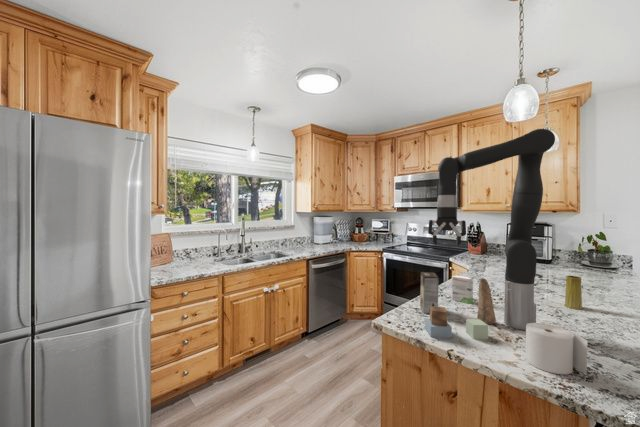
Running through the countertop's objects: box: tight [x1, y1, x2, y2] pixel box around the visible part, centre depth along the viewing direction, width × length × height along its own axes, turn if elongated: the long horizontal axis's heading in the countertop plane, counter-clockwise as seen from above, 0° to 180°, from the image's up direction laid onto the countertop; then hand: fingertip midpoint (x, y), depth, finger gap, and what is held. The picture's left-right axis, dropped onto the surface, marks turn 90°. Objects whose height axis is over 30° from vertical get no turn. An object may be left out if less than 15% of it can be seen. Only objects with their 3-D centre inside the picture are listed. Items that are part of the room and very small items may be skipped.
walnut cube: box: [429, 306, 448, 326], centre depth 100 cm, size 5×5×5 cm
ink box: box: [451, 275, 474, 304], centre depth 136 cm, size 9×5×12 cm, turn 44°
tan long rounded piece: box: [476, 277, 497, 325], centre depth 110 cm, size 6×18×6 cm
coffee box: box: [419, 271, 439, 314], centre depth 123 cm, size 9×6×16 cm
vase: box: [564, 275, 583, 310], centre depth 128 cm, size 6×6×14 cm
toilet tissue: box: [524, 322, 589, 376], centre depth 80 cm, size 11×12×10 cm
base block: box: [424, 318, 453, 339], centre depth 100 cm, size 7×7×4 cm
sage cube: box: [465, 318, 489, 340], centre depth 98 cm, size 5×5×5 cm
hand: (446, 244), depth 115 cm, fingers open, 8 cm apart
